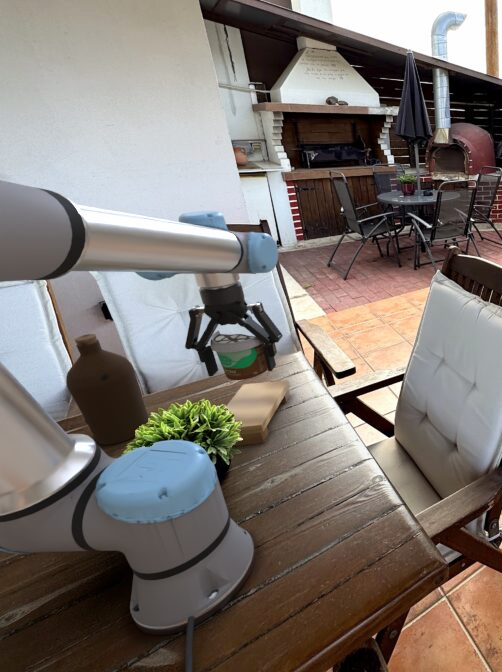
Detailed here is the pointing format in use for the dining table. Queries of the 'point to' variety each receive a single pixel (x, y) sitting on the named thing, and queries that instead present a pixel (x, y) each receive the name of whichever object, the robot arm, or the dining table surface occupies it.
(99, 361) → the olive oil
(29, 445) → the robot arm
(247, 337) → the food container
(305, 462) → the dining table surface
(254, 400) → the tan wooden block
